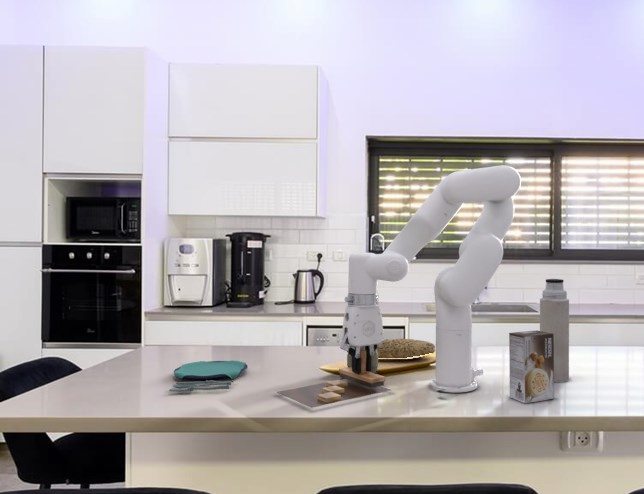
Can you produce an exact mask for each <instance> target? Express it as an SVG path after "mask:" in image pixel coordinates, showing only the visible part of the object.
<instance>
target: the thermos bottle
mask: <svg viewBox="0 0 644 494" xmlns="http://www.w3.org/2000/svg"><path fill="white" fill-rule="evenodd" d="M564 282H565V281H564V279H561V278H546V279H545V289H543V290H542V294H541V295H542V297H541V298H539V331H543V332H548V333H553V334H554V383H565V382H568V381H569V380H570V299H569V298H567V296H568V293H567V290H565V289H564Z"/></svg>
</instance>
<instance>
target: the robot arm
mask: <svg viewBox="0 0 644 494" xmlns="http://www.w3.org/2000/svg"><path fill="white" fill-rule="evenodd" d="M521 184H522V178H521V175H520V173H519V172H518V170H517V169H515V168H514V167H512V166H509V165H505V164H504V165H493V166H488V167H487V166H486V167H479V168H471V169H462V170H457V171H453V172H451V173H449V174H448V175H446V176H445V177H444V178H443V179H442V180H441V181H440V182H439V183H438V185H436V187H435V188H434V190H433V191H432V192H431V193H430V195H429V196H428V197H427V198H426V199H425V200H424V201H423V203H422V204H421V205H420V206H419V208H418V209H417V210H416V211H415V213H413V215H412V216H411V217H410V219H409V220H408V221H407V222H406V224H405V225H404V227H403V228H402V229H401V230H400V232H398V234H397V235H396V236H395V237H394V238H393V239H392V241H391V242H390V244H388V246H387V247H386V248H385V249H384V251H383V252H382V253H374V252H361V251H360V252H352V253H351V254H350V255H349V257H348V286H347V287H348V288H347V289H348V291H347V296H345V297H344V302H345V303H347V305H346V306H345V310H344V315H343V320H342V321H343V322H342V337H341V338H342V341H341V343H340V346H339V348H340V350H343V351H345V352H346V353H347V354H348V353H349V354H350V356H351V357H352V372H354V373H357V374H360V373H361V358H359V356H360V346H364V349H365V350H366V371H367V372H371V365H372V356H373V355H374V352H375V350H376V349H377V347H379V346H380V345H382V344H383V341H384V324H383V316H382V309H381V305H379V304H378V305H377V292H378V285H379V283H378V282H379V281H385V282H391V283H393V282H395V283H396V282H400V281H402V280H403V279H405V278H406V277H407V275H408V273H409V269H410V268H409V267H410V265H409V264H410V263H411V262H412V260H413V259H414V258H415V257H416V256H417V254H418V253H419V252H420V251H421V250H422V249H423V248H424V247H425V246H427V245H428V244H429V243H431V242H433V241H434V240H435V239H436V238H437V237H438V236H440V235H441V233H442V232H443V231H444V229H445V228H446V227H447V226H448V224H449V223H450V222H451V221H452V220H453V218H454V217H455V216H456V214H457V213H458V212H459V211H460V210H461V208H462V207H463V206H464V205H465V204H474V203H475V204H476V203H482V202H483V207H482V211H481V213H480V214H479V217H478V218H477V220H476V221H475V223H474V224H473V226H472V227H471V229H470V230H469V232H468V233H467V234H466V236H465V237H464V239H463V240H462V242H461V243H460V245H459V247H458V257H459V258H458V259H457V261H456V262H455V264H454V265H453V266H448V267H445V268H444V269H442V270H441V271H440V272H439V273H438V274H437V276H436V278H435V280H434V285H433V287H434V288H433V291H434V305H435V378H433V379H431V380H430V381H429V385H430V386H432V387H433V388H434V387H435V388H437V389H439V390H437V391H438V392H443V393H453V394H454V393H456V394H457V393H468V392H472V391H475V390H477V389H478V382H477V380H475V378H476V377H480V376H483V374H484V370H483V368H482V367H479V368H474V367H472V364H473V363H472V362H473V361H472V360H473V358H472V356H473V354H472V352H473V351H472V350H473V346H472V345H473V344H472V343H473V342H472V341H473V340H472V339H473V338H472V337H473V312H472V304H473V303H475V302H476V301H477V300H478V298H479V297H480V296H481V295H482V293H483V291H484V290H485V289H486V286H487V285H488V284H489V282H490V281H491V279H492V278H493V276H494V274H495V273H496V272H497V270H498V268H499V266H500V265H501V262H502V261H503V257H504V247H503V244H502V242H503V240H504V239H505V236H506V234H507V233H508V232H509V229H510V228H511V226H512V223H513V221H514V217H515V203H514V198H513V197H514V196H515V195H516V194H517V193H518V192H519V190H520V188H521V186H522V185H521ZM349 344H350V347H349Z"/></svg>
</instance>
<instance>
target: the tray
mask: <svg viewBox="0 0 644 494" xmlns="http://www.w3.org/2000/svg"><path fill="white" fill-rule="evenodd" d="M341 380H342V381H345V382H347V383H348V386H346V387H341V388H344V393H340V394H339V395H341V400H336V401H331V402H327V403H326V402H324V401H321V400H319V399H317V395H319V394H324V393H323V392H322V388H325V387H328V386H326V382H321V383H315V384H312V385H311V384H310V385H305V386H302V387H301V386H300V387H294V388H290V389H285V390H280V391H276V393H277V394H280V395H282V396H284V397H285V398H289V399H291V400H293V401H295V402H298V403H300V404H302V405H305V406H307V407H309V408H312V409H313V408H317V407H322V406H326V405H330V404H334V403H339V402H344V401H348V400H352V399H358V398H362V397H367V396H370V395H376V394H380V393H385V392H388V391H391V389H390V388H387V387H384V386H378V387H373V388H370V387H367V386H364V385H361V384H359V383H356V382H353V381H350V380H347V379H344V378H341Z"/></svg>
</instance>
